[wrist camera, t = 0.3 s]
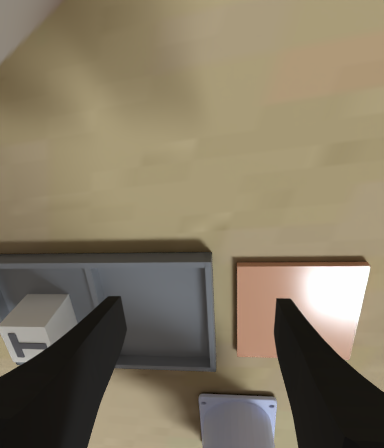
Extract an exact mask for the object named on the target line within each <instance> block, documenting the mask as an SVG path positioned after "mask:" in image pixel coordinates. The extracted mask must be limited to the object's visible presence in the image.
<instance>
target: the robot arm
mask: <svg viewBox="0 0 384 448" xmlns="http://www.w3.org/2000/svg"><path fill="white" fill-rule="evenodd" d="M126 332H127V325H126V320H125V315H124V310H123V305H122V300H121V296H108V297H107V298H106V299H104V300H103V301H102V302H101V303H100V304H99V305H98V306H97V307H96V308H95V309H94V310H92V311H91V312H90V313H89V314H88V315H87V316H86V317H85V318H84V319H82V320H81V321H80V322H79V323H78V324H77V325H76V326H74V327H73V328H72V329H71V330H69V331H68V332H67V333H66V334H65V335H63V336H62V337H61V338H60V339H58V340H57V341H56V342H55V343H53V344H52V345H50V346H49V347H48V348H46V349H45V350H43V351H42V352H40V353H39V354H38V355H36V356H35V357H33V358H31V359H30V360H28V361H27V362H25V363H23V364H22V365H20V366H18V367H17V368H15V369H13V370H12V371H10V372H8V373H6V374H5V375H3V376H1V377H0V448H87V447H88V443H89V439H90V436H91V432H92V429H93V425H94V422H95V419H96V415H97V412H98V409H99V406H100V403H101V400H102V397H103V395H104V392H105V390H106V387H107V385H108V382H109V380H110V378H111V375H112V373H113V370H114V368H115V365H116V363H117V360H118V358H119V355H120V353H121V350H122V347H123V343H124V340H125V336H126ZM274 339H275V346H276V352H277V357H278V361H279V365H280V368H281V372H282V376H283V380H284V383H285V387H286V391H287V394H288V398H289V402H290V405H291V410H292V414H293V419H294V425H295V430H296V436H297V442H298V448H384V392H383V391H381V390H380V389H379V388H377V387H376V386H375V385H373V384H372V383H371V382H370V381H368V380H367V379H366V378H364V377H363V376H362V375H361V374H360V373H358V372H357V371H356V370H355V369H354V368H352V367H351V366H350V365H349V364H348V363H347V362H346V361H345V360H344V359H343V358H342V357H341V356H340V355H338V354H337V353H336V352H335V351H334V350H333V348H332V347H331V346H330V345H329V344H328V343H327V342H326V341H325V340H324V339H323V338H322V337H321V336H320V334H319V333H318V332H317V331H316V330H315V329H314V328H313V326H312V325H311V324H310V323H309V322H308V320H307V319H306V318H305V317H304V315H303V314H302V313H301V311H300V310H299V309H298V307H297V306H296V305H295V303H294V302H293V301H292V300H291V299H290V298H276V309H275V322H274ZM276 408H277V401H276V398H275V397H269V396H246V395H223V394H200V395H199V410H200V422H201V434H202V445H203V448H275V445H274V431H275V419H276Z"/></svg>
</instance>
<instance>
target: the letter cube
mask: <svg viewBox="0 0 384 448" xmlns="http://www.w3.org/2000/svg"><path fill="white" fill-rule="evenodd" d="M76 325H77V320H76V317H75V314H74V310H73V307H72V304H71V300H70V297H69V294H27V295H26V296H25V297H24V298H23V299H22V300H21V301H20V302H19V303H18V305H17V306H16V307H15V308H14V309H13V310H12V311H11V312H10V313H9V314H8V315H7V316H6V317H5V319H4V320H3V321H2V322H1V323H0V334H1V336H2V338H3V340H4V342H5V345H6V347H7V349H8V351H9V354H10V356H11V358H12V360H13V362H27V361H28V360H30V359H31V358H33V357H35V356H36V355H38V354H39V353H40V352H42V351H43V350H45V349H46V348H48V347H49V346H50V345H52V344H53V343H55V342H56V341H57V340H58V339H60V338H61V337H62V336H63V335H65V334H66V333H67V332H68V331H69V330H71V329H72V328H73V327H74V326H76Z"/></svg>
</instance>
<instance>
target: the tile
mask: <svg viewBox="0 0 384 448" xmlns="http://www.w3.org/2000/svg"><path fill="white" fill-rule="evenodd" d="M369 271H370V265H369V264H368V262H247V263H237V357H269V358H278V357H277V352H276V346H275V339H274V322H275V309H276V298H290V299H291V300H292V301H293V302H294V303H295V305H296V306H297V307H298V309H299V310H300V311H301V313H302V314H303V315H304V317H305V318H306V319H307V320H308V322H309V323H310V324H311V325H312V326H313V328H314V329H315V330H316V331H317V332H318V333H319V334H320V336H321V337H322V338H323V339H324V340H325V341H326V342H327V343H328V344H329V345H330V346H331V347H332V348H333V350H334V351H335V352H336V353H337V354H338V355H340V356H341V357H342V358H343V359H344V360H349V359H350V355H351V350H352V346H353V342H354V337H355V333H356V328H357V324H358V319H359V315H360V311H361V306H362V302H363V297H364V293H365V288H366V284H367V280H368V275H369Z"/></svg>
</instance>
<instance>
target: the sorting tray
mask: <svg viewBox="0 0 384 448" xmlns="http://www.w3.org/2000/svg"><path fill="white" fill-rule="evenodd" d="M27 294H69V297H70V300H71V304H72V307H73V310H74V314H75V317H76V320H77V324H78V323H79V322H80V321H81V320H82V319H84V318H85V317H86V316H87V315H88V314H89V313H90V312H91V311H92V310H94V309H95V308H96V307H97V306H98V305H99V304H100V303H101V302H102V301H103V300H104V299H106V298H107V297H108V296H121V300H122V305H123V310H124V315H125V320H126V325H127V332H126V336H125V340H124V343H123V347H122V350H121V353H120V355H119V358H118V360H117V363H116V365H115V368H124V369H153V370H182V371H211V372H216V340H215V316H214V292H213V268H212V252H179V253H78V254H0V323H1V322H2V321H3V320H4V319H5V317H6V316H7V315H8V314H9V313H10V312H11V311H12V310H13V309H14V308H15V307H16V306H17V305H18V303H19V302H20V301H21V300H22V299H23V298H24V297H25V296H26V295H27ZM23 363H25V362H16V364H17V365H22V364H23Z"/></svg>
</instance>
